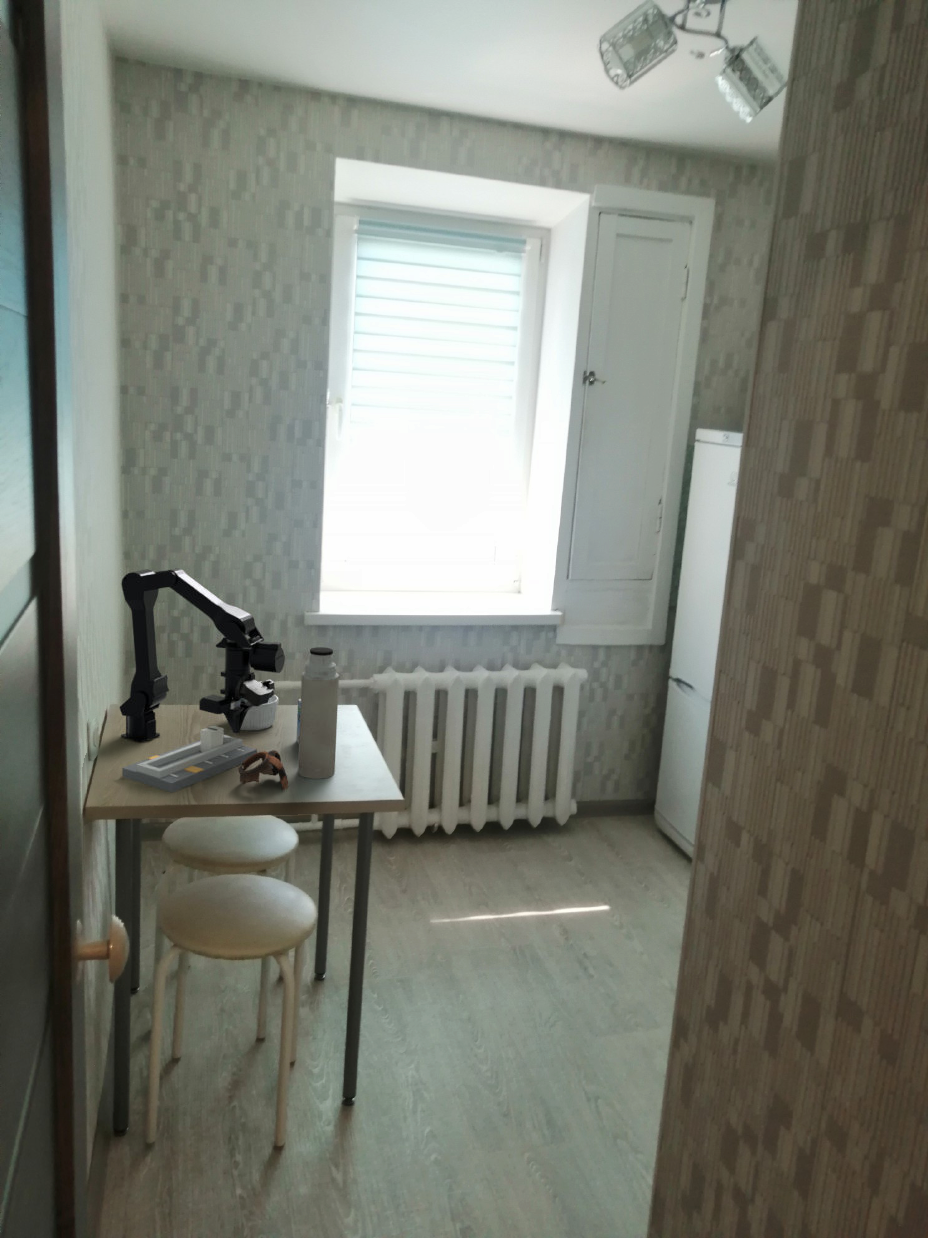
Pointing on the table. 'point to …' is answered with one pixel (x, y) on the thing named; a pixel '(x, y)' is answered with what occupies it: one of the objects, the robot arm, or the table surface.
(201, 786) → the table surface
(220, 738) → the fader knob
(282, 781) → the brown curved looped piece
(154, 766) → the console
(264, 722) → the ramekin
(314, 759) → the thermos bottle
